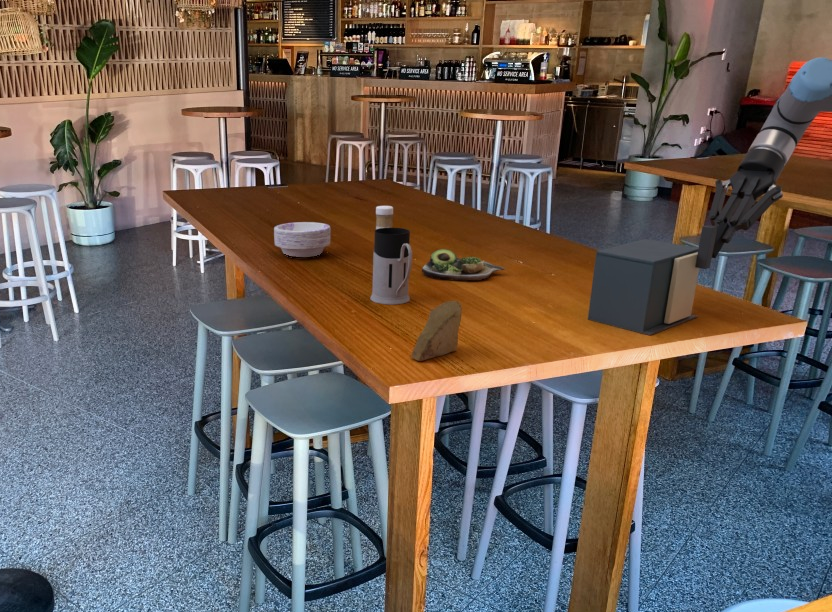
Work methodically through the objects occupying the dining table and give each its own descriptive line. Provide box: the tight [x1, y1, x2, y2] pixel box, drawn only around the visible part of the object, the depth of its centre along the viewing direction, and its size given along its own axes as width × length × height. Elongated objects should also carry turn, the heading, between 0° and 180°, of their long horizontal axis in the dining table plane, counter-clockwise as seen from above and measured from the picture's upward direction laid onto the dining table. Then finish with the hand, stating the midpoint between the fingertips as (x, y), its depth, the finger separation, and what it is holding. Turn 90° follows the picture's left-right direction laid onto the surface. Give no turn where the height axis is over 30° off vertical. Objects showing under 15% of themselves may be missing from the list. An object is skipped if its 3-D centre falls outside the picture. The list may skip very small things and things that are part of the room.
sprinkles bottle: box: [375, 205, 394, 230], centre depth 209 cm, size 5×5×13 cm
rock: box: [410, 300, 463, 362], centre depth 140 cm, size 11×9×10 cm
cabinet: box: [587, 238, 699, 336], centre depth 158 cm, size 14×18×14 cm
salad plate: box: [421, 248, 506, 281], centre depth 195 cm, size 19×18×5 cm
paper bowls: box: [273, 221, 331, 257], centre depth 213 cm, size 15×15×8 cm
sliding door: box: [664, 224, 717, 324], centre depth 153 cm, size 3×9×18 cm, turn 129°
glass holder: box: [369, 227, 413, 305], centre depth 169 cm, size 9×14×15 cm, turn 18°
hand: (710, 253), depth 155 cm, fingers closed
